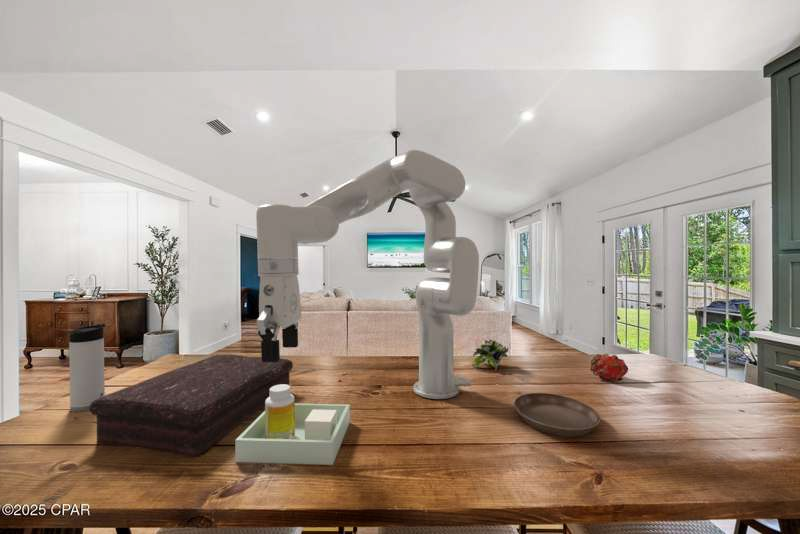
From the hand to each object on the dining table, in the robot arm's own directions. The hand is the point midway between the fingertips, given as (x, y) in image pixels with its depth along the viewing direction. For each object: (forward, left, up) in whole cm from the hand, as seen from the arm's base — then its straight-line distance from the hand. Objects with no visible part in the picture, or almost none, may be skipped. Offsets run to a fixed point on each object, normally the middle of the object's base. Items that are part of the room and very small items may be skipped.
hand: (281, 353), depth 66 cm
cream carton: (-8, 0, -17) cm, 19 cm away
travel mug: (+54, -14, -18) cm, 59 cm away
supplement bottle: (0, 0, -17) cm, 17 cm away
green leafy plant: (-53, -49, -18) cm, 74 cm away
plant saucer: (-59, -12, -18) cm, 62 cm away
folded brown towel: (+22, -12, -18) cm, 31 cm away
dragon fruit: (-87, -40, -18) cm, 97 cm away
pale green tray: (-4, 0, -18) cm, 18 cm away
